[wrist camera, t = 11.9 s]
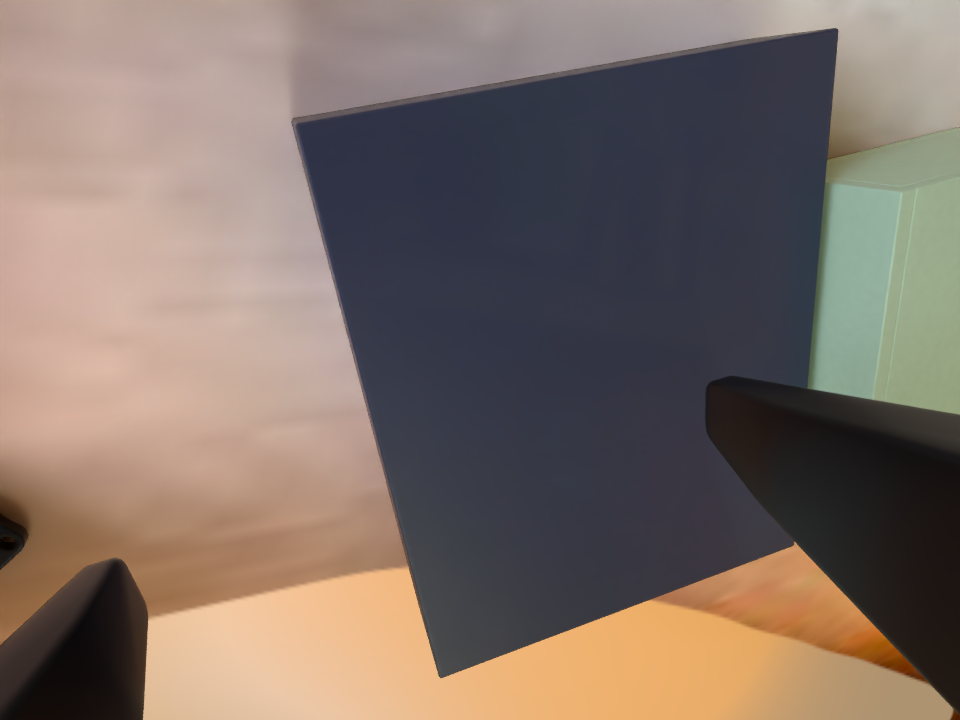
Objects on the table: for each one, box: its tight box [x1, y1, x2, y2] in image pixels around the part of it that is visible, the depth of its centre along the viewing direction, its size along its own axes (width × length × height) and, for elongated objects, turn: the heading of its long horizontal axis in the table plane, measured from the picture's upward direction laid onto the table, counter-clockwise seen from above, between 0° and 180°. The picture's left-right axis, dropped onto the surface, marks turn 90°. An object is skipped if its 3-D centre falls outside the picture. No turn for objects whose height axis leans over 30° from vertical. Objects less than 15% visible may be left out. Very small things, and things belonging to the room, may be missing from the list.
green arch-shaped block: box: [807, 127, 960, 415], centre depth 25 cm, size 6×11×10 cm
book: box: [291, 28, 838, 678], centre depth 23 cm, size 16×20×4 cm
